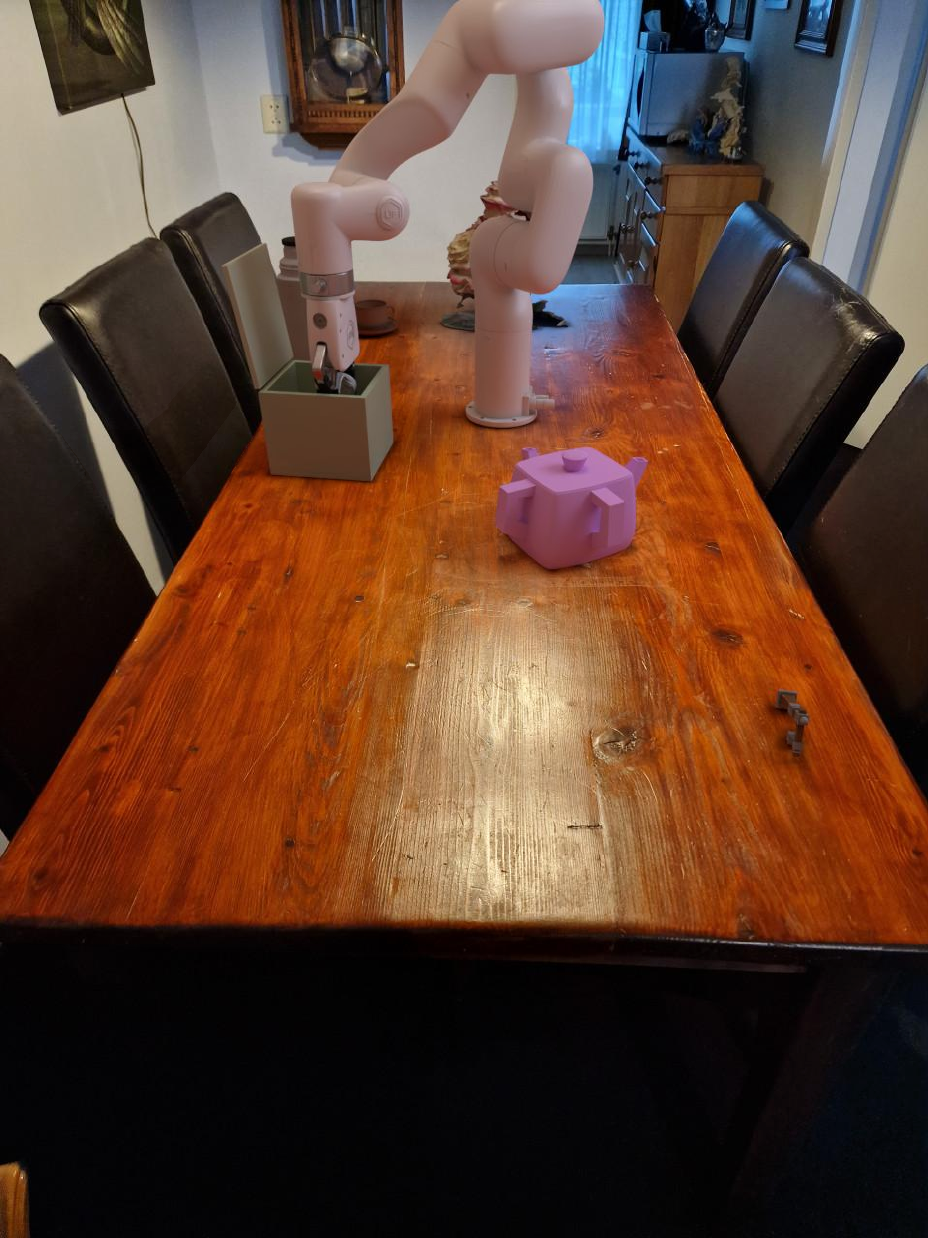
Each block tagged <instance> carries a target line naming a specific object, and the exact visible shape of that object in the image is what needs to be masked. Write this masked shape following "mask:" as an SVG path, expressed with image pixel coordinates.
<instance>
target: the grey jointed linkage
mask: <svg viewBox="0 0 928 1238" xmlns="http://www.w3.org/2000/svg"><path fill="white" fill-rule="evenodd" d="M797 698H798V691H794V690H787V689H786V690H785V689H777V694H776V701H775V706H774V707H775V708H777V709H786V710H787V714H788V715H789V717H790V718H793V721H794V722H795V731H793V730H787V731H786V734H785V735H786V736H785V741H787V742H786V743H787V745H788V746H789V745H790V746H791V748H792V749H791V750H792V751H791V756H792V757H793V758H801V753H802V750H803V745H804V742H803V738H804V733H805V732H804V731H805V726H809V722H810V714H808V713H807V711H808V710H807V709H806V708H805V707H802V706H801V705H800V703H797Z"/></svg>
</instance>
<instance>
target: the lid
mask: <svg viewBox="0 0 928 1238" xmlns="http://www.w3.org/2000/svg"><path fill="white" fill-rule="evenodd" d="M221 270H222V274H223V277H224V281H225V285H226V288H227V292H228V296H229V299H230V303H231V307H232V310H233V314H234V317H235V322H236V326H237V328H238V333H239V336H240V341H241V343H242V348H243V351H244V354H245V358H246V362H247V365H248V369H249V373H250V376H251V377H250V378H251V380H252V384H253V388H254V390H261V389H262V388H263V387H264V386H265V385H266V384H267V383H268V382H269V381H270V380H271V379H273V378H274V377H275V376H276V375H277V374H278V373H279V372H280V371H281V370H282V369H283V368H284V367H285V366H286V365H287V364H288V361H289V360H290V359H291V358H292V357H293V352H292V348H291V344H290V340H289V335H288V331H287V327H286V323H285V319H284V314H283V310H282V306H281V302H280V298H279V290H278V284H277V281H276V277H275V273H274V268H273V265H272V261H271V257H270V253H269V249H268V244H267V242H264V243H260V244H258V245H256V246H254V247H253V248H251V249H249V250H247V251H246V252H244V253H242V254H240V255H238V256H237V257H235V258H233V259H231V260H230V261H227V262H226V263H224V264H223V265H221Z"/></svg>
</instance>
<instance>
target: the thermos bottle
mask: <svg viewBox="0 0 928 1238" xmlns="http://www.w3.org/2000/svg"><path fill="white" fill-rule="evenodd" d="M281 245H282V246H283V247H282V248H283V249H282V250H283V251H282V253H283V257H282V258H280V259H279V262H278V263H279V264H278V269H279V270H280V271H279V273H278V274H277V275H276V280H277V281H276V283H277V289H278V294H279V298H280V302H281V306H282V310H283V314H284V319H285V323H286V327H287V331H288V335H289V340H290V344H291V348H292V352H293V357H292V358H291V359H290V360H289V361H288V362H287V364H288V363H289V362H290V361H291V360H304V361H311V359H310V352H309V342H308V328H307V299H306V298H304V297H302V296H301V289H300V280H299V270H298V261H297V252H296V243H295V235H293V236H286V237H283V238H281Z"/></svg>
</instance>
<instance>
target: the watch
mask: <svg viewBox="0 0 928 1238" xmlns="http://www.w3.org/2000/svg"><path fill="white" fill-rule="evenodd" d="M327 375H328V377H329V379H330V380H331V373H330V374H327ZM336 388H338V389H339V395H354V393H355V389H356V382H355V380H354V379H353V378H352V377H351V376H350V375H348V374H345V373H341V372H337V381H336Z"/></svg>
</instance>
